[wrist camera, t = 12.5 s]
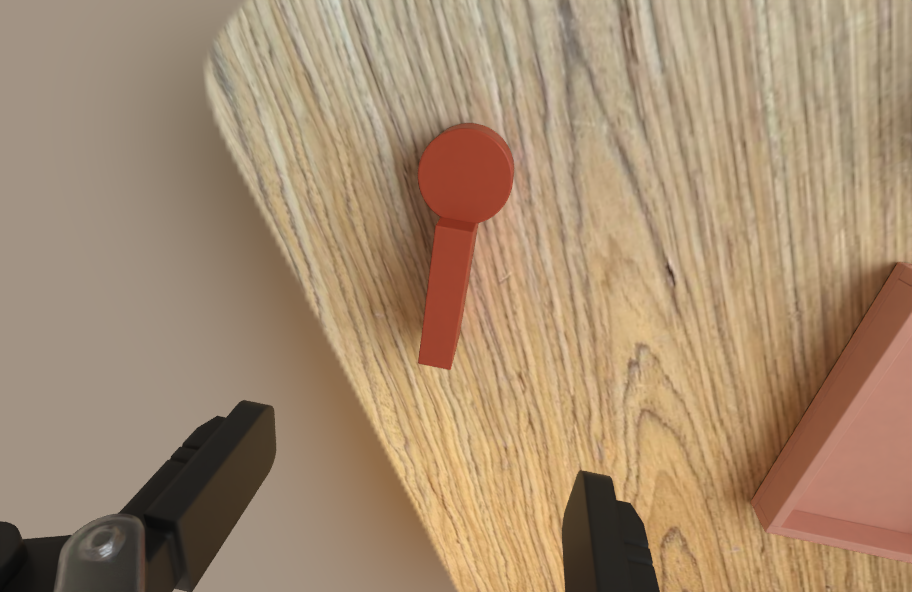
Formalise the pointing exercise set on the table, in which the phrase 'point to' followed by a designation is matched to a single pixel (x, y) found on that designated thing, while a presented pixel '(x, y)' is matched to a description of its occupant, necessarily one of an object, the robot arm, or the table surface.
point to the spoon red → (458, 224)
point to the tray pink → (854, 442)
